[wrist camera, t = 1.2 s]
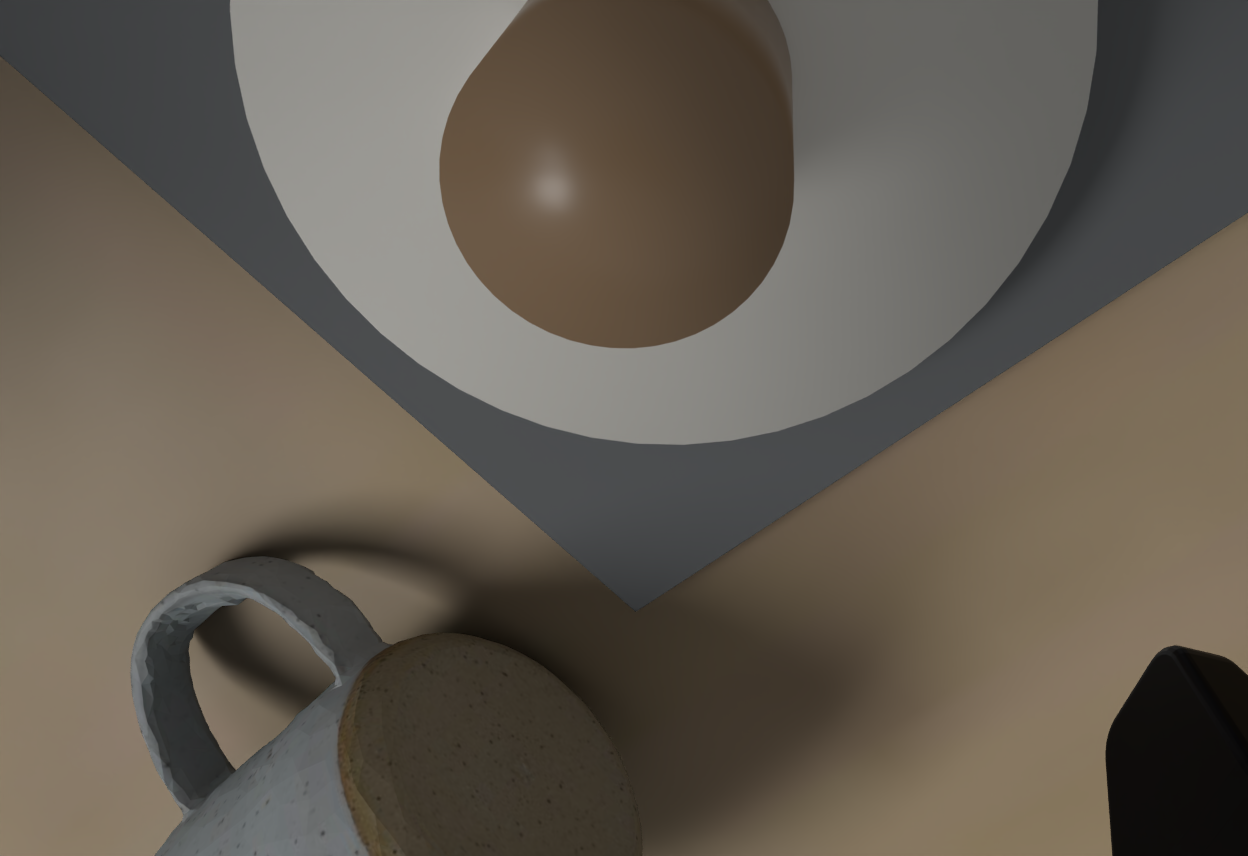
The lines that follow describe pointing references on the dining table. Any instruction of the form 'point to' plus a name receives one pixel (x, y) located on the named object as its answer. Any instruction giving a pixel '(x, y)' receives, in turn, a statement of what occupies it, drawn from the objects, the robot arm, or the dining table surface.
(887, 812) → the dining table surface
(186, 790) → the ceramic mug
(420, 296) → the lid
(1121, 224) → the mat
